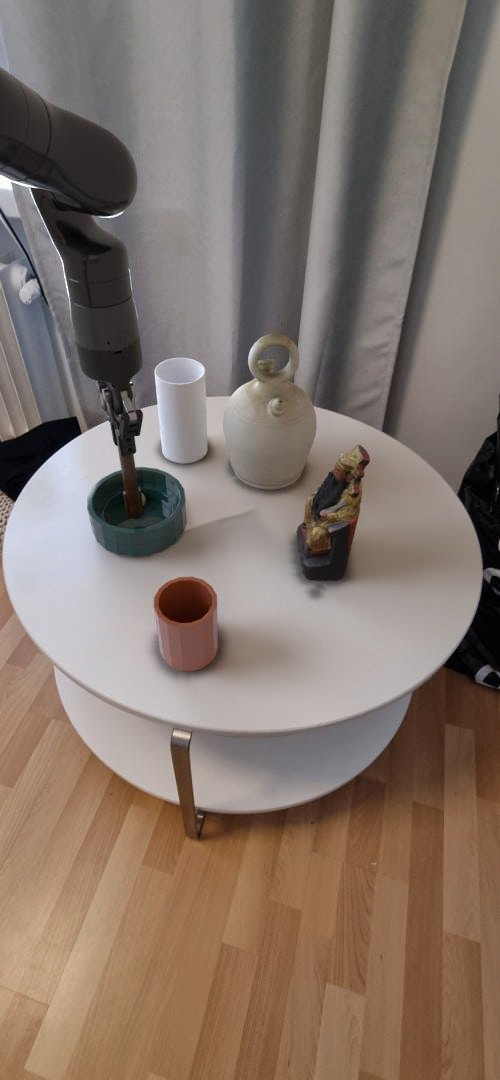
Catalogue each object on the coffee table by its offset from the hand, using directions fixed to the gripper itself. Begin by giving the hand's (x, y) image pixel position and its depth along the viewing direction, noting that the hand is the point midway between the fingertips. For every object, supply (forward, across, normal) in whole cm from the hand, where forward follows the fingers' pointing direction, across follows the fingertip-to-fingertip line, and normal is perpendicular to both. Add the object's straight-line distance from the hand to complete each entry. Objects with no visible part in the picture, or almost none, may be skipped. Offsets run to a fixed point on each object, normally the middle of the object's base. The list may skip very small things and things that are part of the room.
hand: (125, 448), depth 81 cm
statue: (+16, +19, +22) cm, 33 cm away
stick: (+13, 0, 0) cm, 13 cm away
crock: (+15, +24, -2) cm, 29 cm away
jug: (+16, -4, +26) cm, 30 cm away
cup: (+16, -15, +14) cm, 26 cm away
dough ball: (+13, -4, +1) cm, 14 cm away
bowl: (+16, 0, 0) cm, 16 cm away
